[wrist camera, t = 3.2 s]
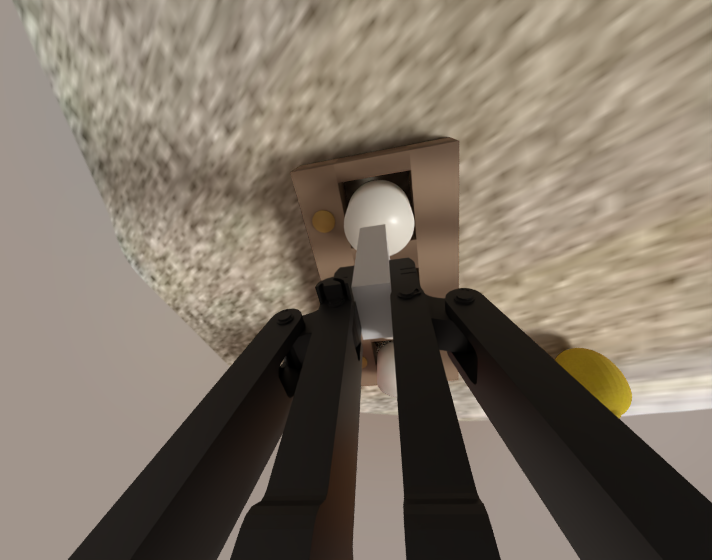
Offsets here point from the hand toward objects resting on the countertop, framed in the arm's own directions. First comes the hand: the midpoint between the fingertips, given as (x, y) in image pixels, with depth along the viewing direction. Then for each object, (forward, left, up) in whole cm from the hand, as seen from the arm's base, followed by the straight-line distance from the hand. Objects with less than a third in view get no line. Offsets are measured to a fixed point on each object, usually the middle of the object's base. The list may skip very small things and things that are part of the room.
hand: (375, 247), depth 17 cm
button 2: (+16, 0, -6) cm, 17 cm away
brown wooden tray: (+8, 0, -9) cm, 12 cm away
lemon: (+20, +19, -9) cm, 29 cm away
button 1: (0, 0, -6) cm, 6 cm away
